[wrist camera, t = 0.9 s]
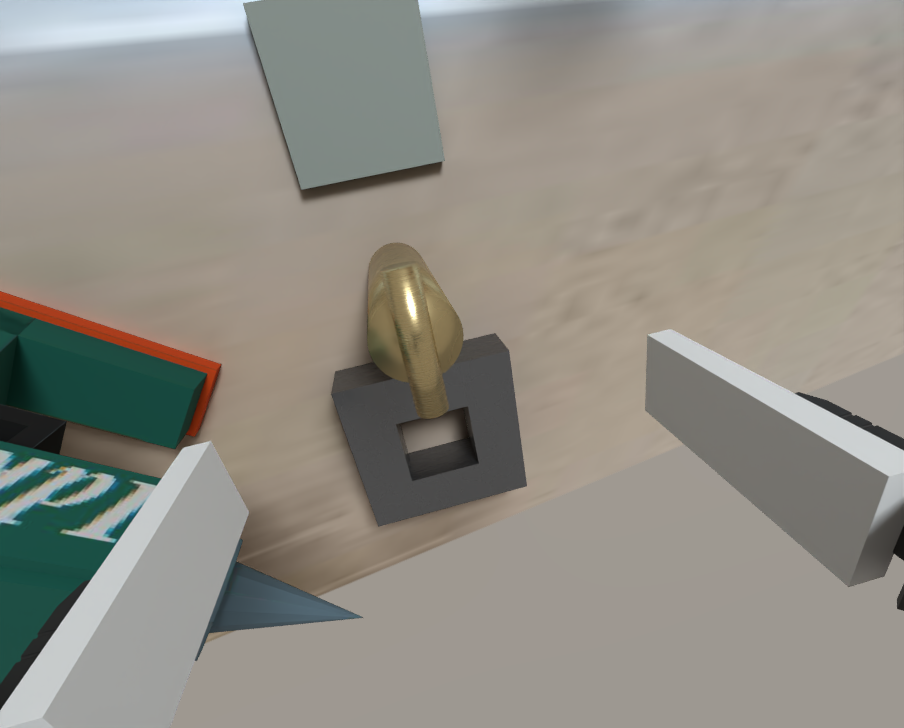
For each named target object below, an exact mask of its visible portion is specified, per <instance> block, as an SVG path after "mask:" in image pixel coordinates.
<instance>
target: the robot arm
mask: <svg viewBox="0 0 904 728" xmlns="http://www.w3.org/2000/svg"><path fill="white" fill-rule="evenodd" d="M645 410H646V411H647V412H648V413H649V414H650V415H651V416H652V417H654V418H655V419H656V420H657V421H658V422H659V423H660V424H662V425H663V426H664V427H665V428H666V429H667V430H669V431H670V432H671V433H672V434H673V435H674V436H675V437H677V438H678V439H679V440H680V441H681V442H682V443H683V444H685V445H686V446H687V447H688V448H689V449H691V450H692V451H693V452H694V453H695V454H696V455H697V456H698V457H700V458H701V459H702V460H703V461H704V462H705V463H706V464H708V465H709V466H710V467H711V468H712V469H713V470H715V471H716V472H717V473H718V474H719V475H720V476H721V477H723V478H724V479H725V480H726V481H727V482H728V483H729V484H731V485H732V486H733V487H734V488H735V489H736V490H738V491H739V492H740V493H741V494H742V495H743V496H744V497H746V498H747V499H748V500H749V501H750V502H751V503H753V504H754V505H755V506H756V507H757V508H758V509H759V510H761V511H762V512H763V513H764V514H765V515H766V516H768V517H769V518H770V519H771V520H772V521H773V522H774V523H776V524H777V525H778V526H779V527H780V528H782V530H784V531H785V532H786V533H787V534H788V535H790V536H791V537H792V538H793V539H794V540H795V541H796V542H797V543H799V544H800V545H801V546H802V547H803V548H804V549H805V550H807V551H808V552H809V553H810V554H811V555H812V556H813V557H815V558H816V559H817V560H818V561H819V562H820V563H822V564H823V565H824V566H825V567H826V568H827V569H828V570H830V571H831V572H832V573H833V574H834V575H835V576H837V577H838V578H839V579H840V580H841V581H842V582H843V583H845V584H846V585H847V586H848V587H850V586H854V585H857V584H860V583H864V582H867V581H870V580H874V579H877V578H880V577H883V576H885V573H886V571H887V569H888V566H889V564H890V562H891V559H892V557H893V554H896V555H897V556H898V557H899V558H901V559H902V560H904V439H903V438H901V437H899V436H897V435H895V434H893V433H891V432H889V431H887V430H885V429H883V428H881V427H879V426H873V425H872V423H871V422H869V421H867V420H865V419H863V418H861V417H859V416H857V415H855V416H853V415H852V413H851V412H849V411H847V410H845V409H843V408H841V407H839V406H837V405H835V404H833V403H831V402H829V401H827V400H824V399H820V398H817V397H813V396H810V395H806V394H803V393H800V392H798V393H792V392H790V391H789V390H787V389H785V388H783V387H781V386H779V385H777V384H775V383H773V382H771V381H769V380H767V379H766V378H764V377H762V376H760V375H758V374H756V373H754V372H752V371H750V370H748V369H746V368H744V367H743V366H741V365H739V364H737V363H735V362H733V361H731V360H729V359H727V358H725V357H723V356H721V355H720V354H718V353H716V352H714V351H712V350H710V349H708V348H706V347H704V346H702V345H700V344H698V343H696V342H695V341H693V340H691V339H689V338H687V337H685V336H683V335H681V334H679V333H677V332H675V331H673V330H672V329H669V330H665V331H661V332H657V333H653V334H649V335H647V366H646V400H645ZM248 514H249V511H248V509H247V507H246V505H245V504H244V502H243V500H242V498H241V496H240V494H239V492H238V491H237V489H236V487H235V485H234V483H233V481H232V479H231V477H230V476H229V474H228V472H227V470H226V468H225V466H224V464H223V463H222V461H221V459H220V457H219V455H218V453H217V451H216V449H215V448H214V446H213V444H212V442H211V441H209V442H205V443H201V444H196V445H192V446H188V447H184V448H183V449H182V450H181V452H180V453H179V454H178V456H177V457H176V459H175V460H174V462H173V463H172V464H171V466H170V467H169V469H168V470H167V472H166V473H165V475H164V476H163V477H162V479H161V480H160V482H159V483H158V485H157V486H156V487H155V489H154V490H153V492H152V493H151V495H150V496H149V498H148V499H147V500H146V502H145V503H144V505H143V506H142V508H141V509H140V510H139V512H138V513H137V515H136V516H135V518H134V519H133V520H132V522H131V523H130V525H129V526H128V528H127V529H126V531H125V532H124V533H123V535H122V536H121V538H120V539H119V541H118V542H117V543H116V545H115V546H114V548H113V549H112V551H111V552H110V553H109V555H108V556H107V558H106V559H105V561H104V562H103V564H102V565H101V566H100V568H99V569H98V571H97V572H96V574H95V575H94V576H93V578H92V579H91V580H87V581H84V582H83V583H81V584H80V585H79V586H78V587H77V588H76V589H75V590H74V591H73V592H72V593H71V594H70V595H69V596H68V597H67V598H66V599H65V600H64V601H63V602H61V603H60V604H59V605H58V606H57V607H56V609H55V610H54V612H53V613H52V614H51V616H50V617H49V618H48V620H47V621H46V622H45V624H44V625H43V627H42V628H41V629H40V631H39V632H38V633H37V634H38V637H37V638H36V639H33V640H32V642H31V643H30V644H29V646H28V647H27V648H26V650H25V651H24V652H23V654H22V655H21V660H20V662H17V663H15V665H14V666H13V667H12V669H11V670H10V672H9V673H8V674H7V676H6V677H5V678H4V680H3V681H2V683H1V684H0V728H170V726H171V723H172V721H173V718H174V715H175V712H176V710H177V707H178V704H179V702H180V698H181V696H182V694H183V691H184V688H185V685H186V682H187V680H188V677H189V675H190V672H191V669H192V666H193V664H194V661H195V658H196V655H197V653H198V650H199V647H200V645H201V642H202V639H203V636H204V634H205V631H206V628H207V626H208V623H209V620H210V617H211V615H212V612H213V609H214V607H215V604H216V601H217V598H218V596H219V593H220V590H221V588H222V585H223V582H224V579H225V577H226V574H227V571H228V569H229V566H230V563H231V560H232V558H233V555H234V552H235V550H236V547H237V544H238V541H239V539H240V536H241V533H242V531H243V528H244V525H245V522H246V520H247V517H248ZM897 609H900V610H903V611H904V585H903V587H902V589H901V591H900V594H899V596H898V598H897Z"/></svg>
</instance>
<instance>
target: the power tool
mask: <svg viewBox="0 0 904 728" xmlns="http://www.w3.org/2000/svg"><path fill="white" fill-rule="evenodd" d="M220 367H221V364H219V363H216V362H213V361H210V360H207V359H204V358H201V357H198V356H195V355H192V354H189V353H186V352H182V351H179V350H176V349H173V348H170V347H167V346H164V345H161V344H158V343H155V342H152V341H149V340H146V339H143V338H140V337H137V336H134V335H131V334H128V333H125V332H122V331H119V330H116V329H113V328H110V327H107V326H104V325H101V324H98V323H95V322H92V321H89V320H86V319H83V318H80V317H77V316H74V315H71V314H68V313H65V312H62V311H59V310H56V309H53V308H50V307H47V306H44V305H40V304H37V303H34V302H31V301H28V300H25V299H22V298H19V297H16V296H13V295H10V294H7V293H4V292H1V291H0V684H1V683H2V681H3V680H4V678H5V677H6V676H7V674H8V673H9V672H10V670H11V669H12V667H13V666H14V665H15V663H17V662H20V660H21V655H22V654H23V652H24V651H25V650H26V648H27V647H28V646H29V644H30V643H31V642H32V640H33V639H36V638H37V637H38V634H37V633H38V632H39V631H40V629H41V628H42V627H43V625H44V624H45V622H46V621H47V620H48V618H49V617H50V616H51V614H52V613H53V612H54V610H55V609H56V607H57V606H58V605H59V604H60V603H61V602H63V601H64V600H65V599H66V598H67V597H68V596H69V595H70V594H71V593H72V592H73V591H74V590H75V589H76V588H77V587H78V586H79V585H80V584H81V583H83V582H84V581H87V580H91V579H92V578H93V576H94V575H95V574H96V572H97V571H98V569H99V568H100V566H101V565H102V564H103V562H104V561H105V559H106V558H107V556H108V555H109V553H110V552H111V551H112V549H113V548H114V546H115V545H116V543H117V542H118V541H119V539H120V538H121V536H122V535H123V533H124V532H125V531H126V529H127V528H128V526H129V525H130V523H131V522H132V520H133V519H134V518H135V516H136V515H137V513H138V512H139V510H140V509H141V508H142V506H143V505H144V503H145V502H146V500H147V499H148V498H149V496H150V495H151V493H152V492H153V490H154V489H155V487H156V486H157V485H158V483H159V482H160V480H161V479H160V478H156V477H152V476H148V475H143V474H139V473H135V472H131V471H126V470H122V469H118V468H113V467H109V466H105V465H101V464H96V463H92V462H88V461H84V460H79V459H75V458H71V457H67V456H62V455H59V453H60V449H61V444H62V440H63V435H64V431H65V426H66V422H67V421H68V422H72V423H76V424H80V425H84V426H87V427H91V428H95V429H99V430H103V431H107V432H111V433H115V434H118V435H122V436H126V437H130V438H134V439H138V440H142V441H145V442H149V443H153V444H157V445H161V446H165V447H169V448H173V449H175V448H176V447H177V446H178V444H179V443H180V441H181V440H182V439H183V437H184V436H185V434H186V435H190V436H194V437H195V435H196V434H197V432H198V431H199V429H200V426H201V423H202V420H203V417H204V414H205V411H206V408H207V405H208V402H209V399H210V396H211V394H212V391H213V388H214V385H215V382H216V379H217V376H218V373H219V370H220ZM9 406H10V407H9ZM13 407H14V408H13ZM17 408H18V409H17ZM21 409H22V410H21ZM25 410H26V411H25ZM28 411H29V412H28ZM32 412H33V413H32ZM36 413H37V414H36ZM40 414H41V415H40ZM44 415H45V416H44ZM48 416H49V417H48ZM52 417H53V418H52ZM56 418H57V419H56ZM59 419H60V420H59ZM63 420H64V421H63ZM242 541H243V540H242V539H239V541H238V544H237V547H236V550H235V552H234V555H233V558H232V560H231V563H230V566H229V569H228V571H227V574H226V577H225V579H224V582H223V585H222V588H221V590H220V593H219V596H218V598H217V601H216V604H215V607H214V609H213V612H212V615H211V617H210V620H209V623H208V626H207V628H206V631H205V634H204V636H203V639H202V642H201V645H200V647H199V650H198V653H197V655H196V658H195V661H197V659H198V657H199V655H200V653H201V651H202V648H203V646H204V644H205V641H206V639H207V636H208V634H209V633H214V632H224V631H234V630H243V629H254V628H264V627H274V626H283V625H294V624H303V623H313V622H324V621H334V620H343V619H354V618H362V617H361V616H359V615H356V614H354V613H352V612H349V611H347V610H345V609H343V608H341V607H338V606H336V605H334V604H332V603H329V602H327V601H325V600H322V599H320V598H318V597H316V596H313V595H311V594H309V593H307V592H304V591H302V590H300V589H298V588H295V587H293V586H291V585H288V584H286V583H284V582H282V581H279V580H277V579H275V578H273V577H270V576H268V575H266V574H263V573H261V572H259V571H257V570H254V569H252V568H250V567H248V566H245V565H243V564H241V563H238V562H236V560H237V557H238V554H239V551H240V548H241V545H242Z"/></svg>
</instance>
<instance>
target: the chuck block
mask: <svg viewBox="0 0 904 728" xmlns="http://www.w3.org/2000/svg"><path fill="white" fill-rule="evenodd" d="M442 376H443V380H444V385H445V390H446V394H447V399H448V403H449V409H448V411H451V410H455V409H459V408H463V409H464V414H465V419H466V424H467V429H468V434H469V438H466V439H462V440H459V441H455V442H451V443H447V444H443V445H439V446H435V447H432V448H428V449H424V450H420V451H416V452H412V453H409V454H408V450H407V447H406V443H405V440H404V436H403V433H402V429H401V426H400V423H403V422H407V421H411V420H415V419H419V418H421V417H419V416H418V415H417V412H416V409H415V405H414V401H413V397H412V393H411V389H410V385H409V383H408V382H402V381H399V380H396V379H394V378H391V377H390V376H388V375H386V374H385V373H384V372H382V371H381V370H380V369H379V368H378V367H377V365H376V364H375V363H374V362H373V363H369V364H365V365H361V366H357V367H353V368H348V369H344V370H340V371H336V372H335V376H334V382H333V387H332V393H331V395H332V398H333V400H334V403H335V406H336V409H337V412H338V414H339V417H340V420H341V423H342V426H343V428H344V431H345V434H346V437H347V440H348V442H349V445H350V448H351V451H352V454H353V456H354V459H355V462H356V465H357V468H358V470H359V473H360V476H361V479H362V482H363V484H364V487H365V490H366V493H367V496H368V498H369V501H370V504H371V507H372V510H373V512H374V515H375V518H376V521H377V524H378V526H382V525H386V524H390V523H393V522H397V521H401V520H404V519H408V518H412V517H415V516H419V515H423V514H426V513H430V512H434V511H437V510H441V509H445V508H448V507H452V506H456V505H459V504H463V503H467V502H470V501H474V500H478V499H481V498H485V497H489V496H492V495H496V494H500V493H503V492H507V491H511V490H514V489H518V488H522V487H525V486H527V483H526V476H525V468H524V461H523V453H522V445H521V438H520V430H519V423H518V415H517V408H516V400H515V392H514V385H513V377H512V370H511V362H510V354H509V350H508V349H507V348H506V346H505V345H504V344H503V343H502V341H501V340H500V339H499V337H498V336H497V335H496V334H490V335H486V336H482V337H478V338H474V339H469V340H465V341H463V344H462V348H461V352H460V354H459V356H458V358H457V360H456V361H455V363H454V364H453V365H452V366H451V367H450V368H449V369H448V370H447V371H446V372H445V373H443V374H442Z"/></svg>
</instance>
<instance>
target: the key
mask: <svg viewBox="0 0 904 728" xmlns="http://www.w3.org/2000/svg"><path fill="white" fill-rule="evenodd" d="M367 343H368V349H369V352H370V355H371V357H372V359H373V361H374V363H375V364H376V365H377V367H378V368H379V369H380V370H381V371H382V372H384V373H385V374H386V375H388V376H390V377H391V378H394V379H396V380H399V381H402V382H408V383H409V385H410V389H411V393H412V397H413V401H414V405H415V409H416V412H417V415H418V416H419V417H421V418H424V419H432V418H436V417H439V416H441V415H443V414H445V413H446V412H447V411H448V409H449V403H448V399H447V394H446V390H445V385H444V380H443V376H442V374H443V373H445V372H446V371H447V370H448V369H449V368H450V367H451V366H452V365H453V364H454V363H455V361H456V360H457V358H458V356H459V354H460V352H461V348H462V344H463V328H462V324H461V321H460V319H459V317H458V315H457V313H456V312H455V310H454V309H453V307H452V305H451V304H450V302H449V301H448V299H447V297H446V296H445V294H444V293H443V291H442V289H441V288H440V286H439V285H438V283H437V281H436V280H435V278H434V277H433V275H432V273H431V272H430V270H429V269H428V267H427V265H426V264H425V262H424V261H423V259H422V257H421V256H420V254H419V253H418V252H417V251H416V250H415V249H414V248H412V247H410V246H409V245H406V244H403V243H390V244H387V245H385V246H383V247H381V248H380V249H378V250H377V251H376V252H375V253H374V255H373V256H372V258H371V261H370V264H369V275H368V326H367Z"/></svg>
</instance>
